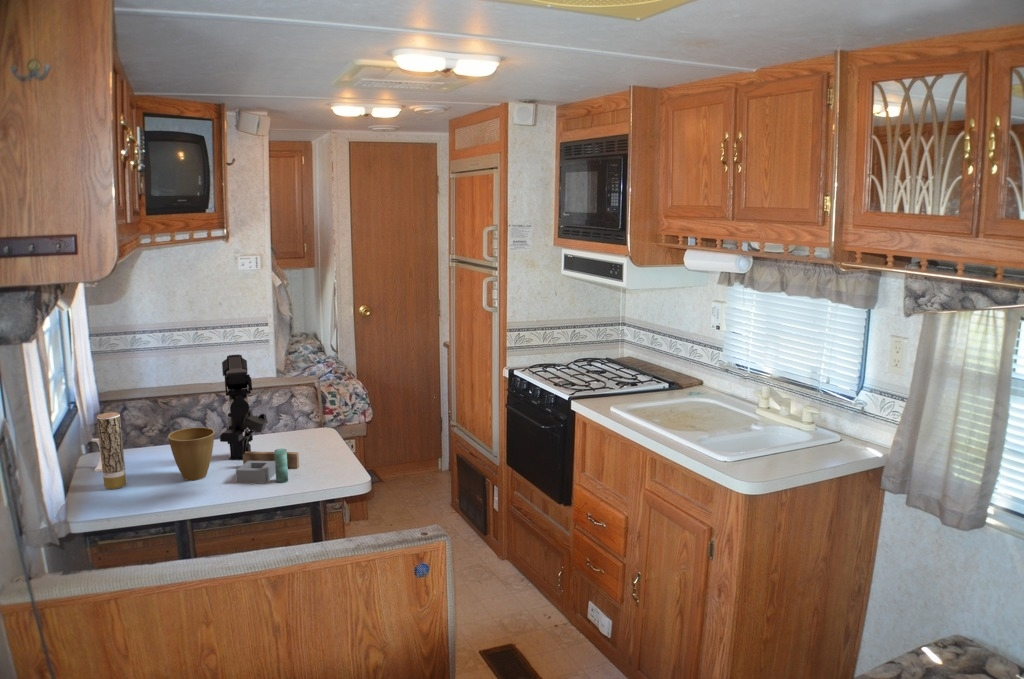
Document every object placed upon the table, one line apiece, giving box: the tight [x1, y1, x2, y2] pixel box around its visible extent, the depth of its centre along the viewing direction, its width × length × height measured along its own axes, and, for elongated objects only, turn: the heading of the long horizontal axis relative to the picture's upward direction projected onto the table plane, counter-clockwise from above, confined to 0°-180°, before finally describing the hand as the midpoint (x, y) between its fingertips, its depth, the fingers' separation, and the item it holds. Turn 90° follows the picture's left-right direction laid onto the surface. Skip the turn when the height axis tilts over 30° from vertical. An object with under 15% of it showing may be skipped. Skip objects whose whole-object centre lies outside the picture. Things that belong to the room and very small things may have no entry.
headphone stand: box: [90, 438, 103, 473], centre depth 279 cm, size 5×6×12 cm
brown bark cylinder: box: [96, 411, 127, 490], centre depth 261 cm, size 7×7×25 cm
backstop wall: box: [242, 451, 300, 470], centre depth 280 cm, size 20×2×6 cm, turn 86°
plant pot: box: [167, 426, 215, 482], centre depth 270 cm, size 15×15×16 cm
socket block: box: [235, 461, 276, 484], centre depth 270 cm, size 10×10×4 cm
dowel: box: [273, 448, 289, 484], centre depth 266 cm, size 4×4×11 cm
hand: (242, 454), depth 258 cm, fingers closed
